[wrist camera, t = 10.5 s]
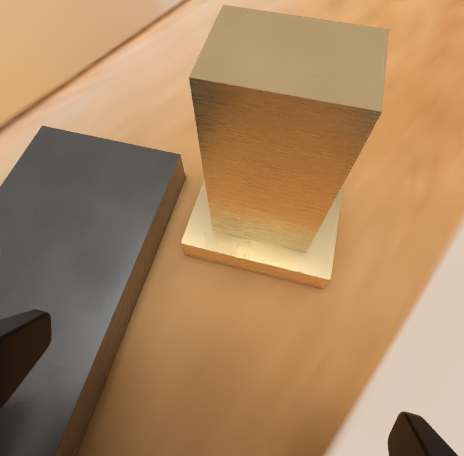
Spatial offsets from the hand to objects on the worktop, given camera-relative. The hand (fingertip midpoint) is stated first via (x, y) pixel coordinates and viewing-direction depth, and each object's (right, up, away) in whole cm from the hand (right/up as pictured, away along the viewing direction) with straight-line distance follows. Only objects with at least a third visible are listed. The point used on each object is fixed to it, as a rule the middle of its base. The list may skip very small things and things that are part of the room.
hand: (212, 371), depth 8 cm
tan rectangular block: (+2, +4, +9) cm, 10 cm away
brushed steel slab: (-8, 0, +8) cm, 11 cm away
